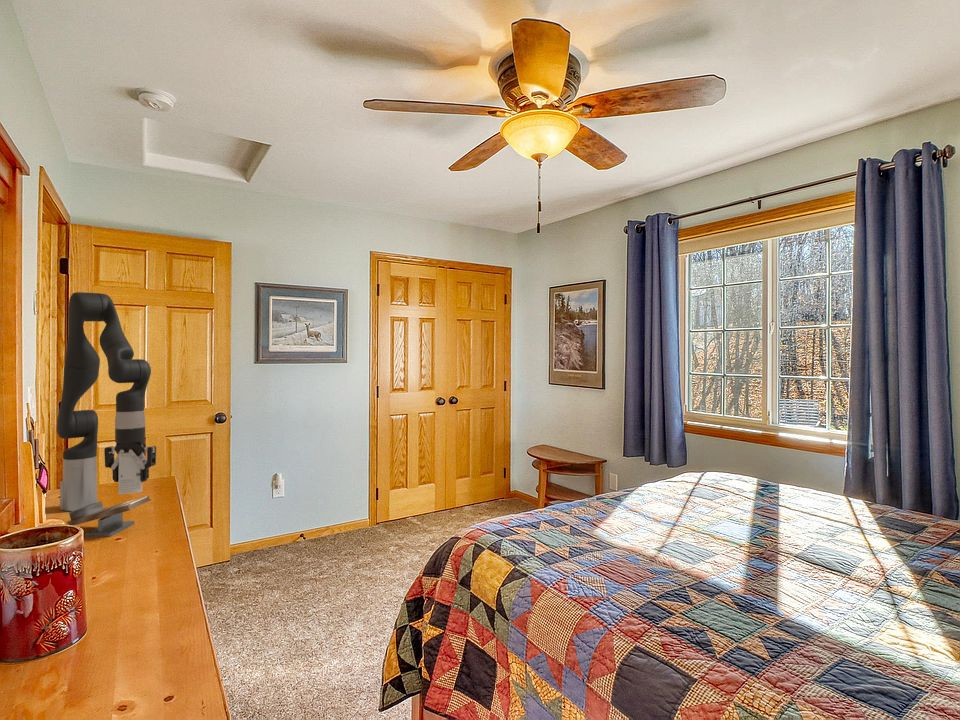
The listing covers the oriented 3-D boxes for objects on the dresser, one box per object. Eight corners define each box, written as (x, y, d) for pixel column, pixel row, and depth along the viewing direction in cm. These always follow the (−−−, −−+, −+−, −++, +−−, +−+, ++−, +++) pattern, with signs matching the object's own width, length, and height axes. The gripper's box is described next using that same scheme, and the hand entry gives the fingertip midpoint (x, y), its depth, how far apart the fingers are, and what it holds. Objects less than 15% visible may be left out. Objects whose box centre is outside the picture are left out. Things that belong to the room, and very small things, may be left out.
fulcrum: (85, 536, 150) (85, 521, 150) (111, 524, 161) (111, 509, 161) (110, 536, 151) (110, 520, 151) (134, 524, 162) (134, 509, 162)
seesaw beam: (68, 527, 151) (64, 514, 151) (92, 516, 161) (89, 504, 161) (129, 510, 151) (125, 497, 151) (150, 500, 161) (146, 488, 161)
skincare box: (118, 495, 152) (117, 453, 152) (118, 492, 156) (118, 451, 156) (143, 492, 156) (142, 451, 156) (143, 489, 160) (142, 449, 160)
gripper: (162, 424, 160) (162, 478, 160) (114, 424, 160) (114, 478, 160) (147, 427, 152) (147, 484, 153) (96, 428, 152) (97, 484, 152)
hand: (130, 481), depth 156 cm, fingers closed on skincare box, 7 cm apart
